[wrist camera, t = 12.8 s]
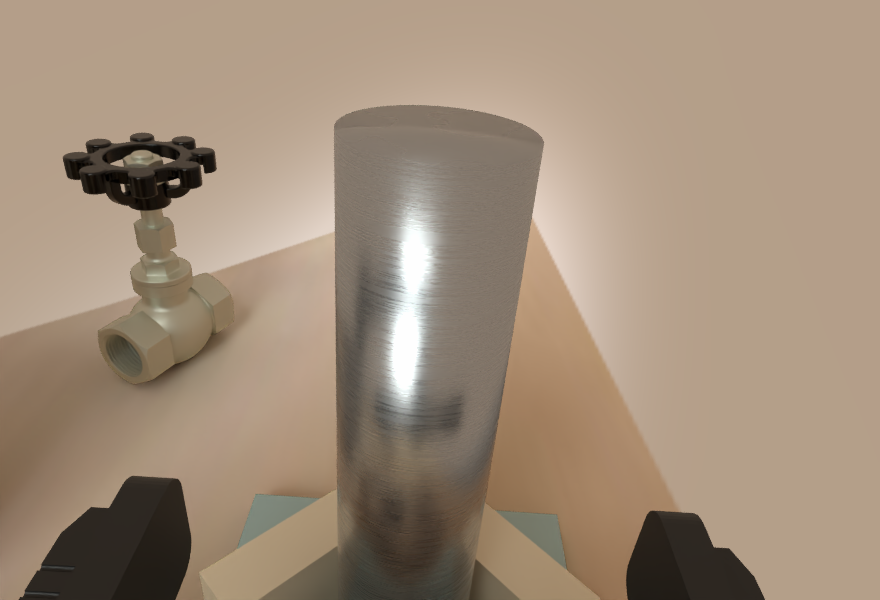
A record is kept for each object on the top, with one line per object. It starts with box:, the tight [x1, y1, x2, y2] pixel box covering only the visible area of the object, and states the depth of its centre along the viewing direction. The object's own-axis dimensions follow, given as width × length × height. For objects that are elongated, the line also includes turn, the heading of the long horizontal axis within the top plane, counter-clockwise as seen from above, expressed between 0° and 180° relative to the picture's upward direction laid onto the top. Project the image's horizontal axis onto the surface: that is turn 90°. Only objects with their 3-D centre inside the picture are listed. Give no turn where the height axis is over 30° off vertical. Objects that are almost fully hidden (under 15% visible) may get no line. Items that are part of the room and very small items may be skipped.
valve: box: [63, 133, 234, 384], centre depth 33 cm, size 7×7×12 cm
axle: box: [334, 105, 544, 600], centre depth 16 cm, size 4×4×18 cm
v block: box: [199, 488, 601, 600], centre depth 22 cm, size 10×13×4 cm
